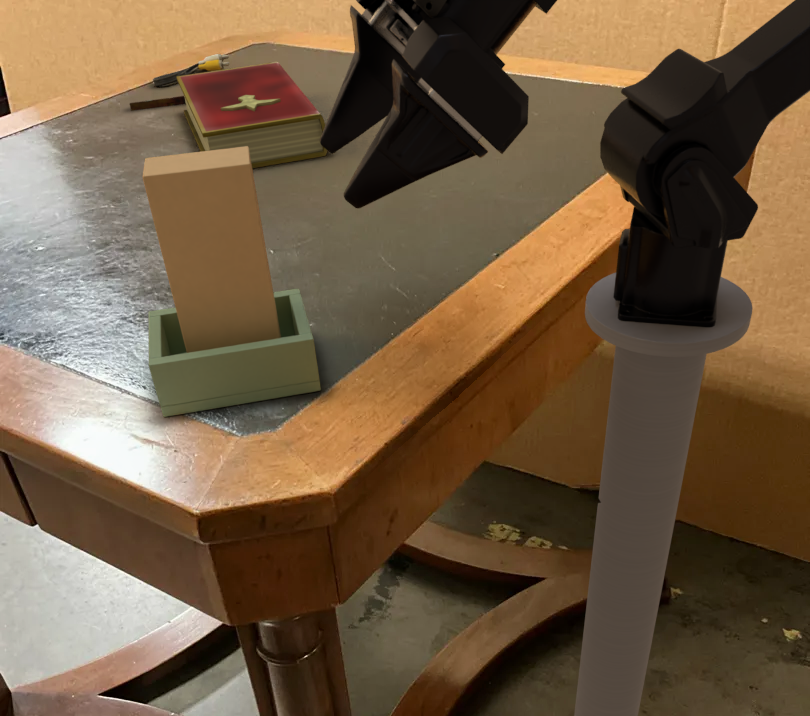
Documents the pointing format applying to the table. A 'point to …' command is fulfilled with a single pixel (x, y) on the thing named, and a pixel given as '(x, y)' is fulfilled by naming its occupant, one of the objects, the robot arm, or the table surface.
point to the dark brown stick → (157, 103)
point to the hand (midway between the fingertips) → (336, 173)
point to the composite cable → (195, 69)
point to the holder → (232, 363)
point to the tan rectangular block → (213, 246)
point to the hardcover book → (253, 114)
